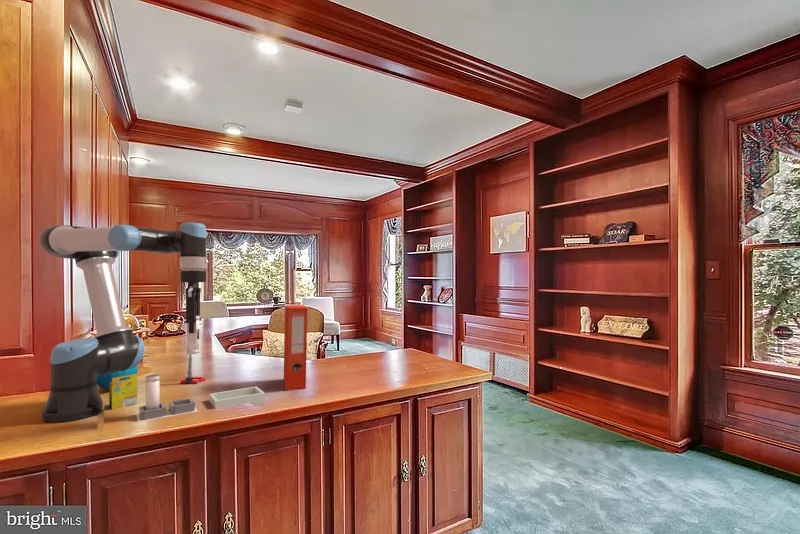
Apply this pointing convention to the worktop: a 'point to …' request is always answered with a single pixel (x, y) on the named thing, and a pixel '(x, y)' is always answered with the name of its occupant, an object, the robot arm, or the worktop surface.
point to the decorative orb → (107, 378)
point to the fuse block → (167, 410)
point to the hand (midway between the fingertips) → (193, 342)
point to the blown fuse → (194, 347)
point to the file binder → (295, 347)
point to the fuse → (152, 392)
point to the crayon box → (123, 392)
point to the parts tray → (237, 397)
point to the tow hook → (189, 378)
